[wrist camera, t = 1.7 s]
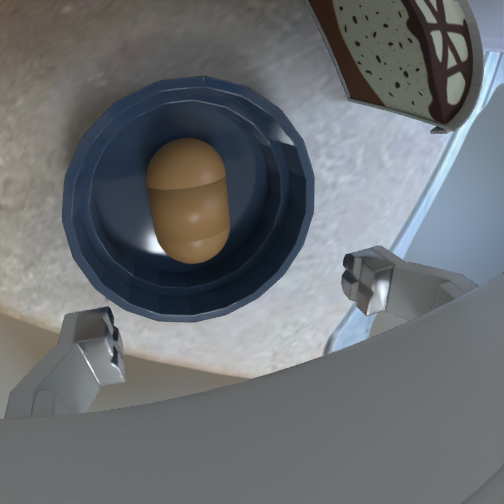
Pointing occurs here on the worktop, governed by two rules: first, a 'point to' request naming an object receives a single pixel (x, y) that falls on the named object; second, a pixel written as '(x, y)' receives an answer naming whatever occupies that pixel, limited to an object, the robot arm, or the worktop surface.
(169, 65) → the worktop surface
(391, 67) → the cake slice
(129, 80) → the worktop surface
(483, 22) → the soap bottle
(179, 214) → the potato
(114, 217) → the bowl
